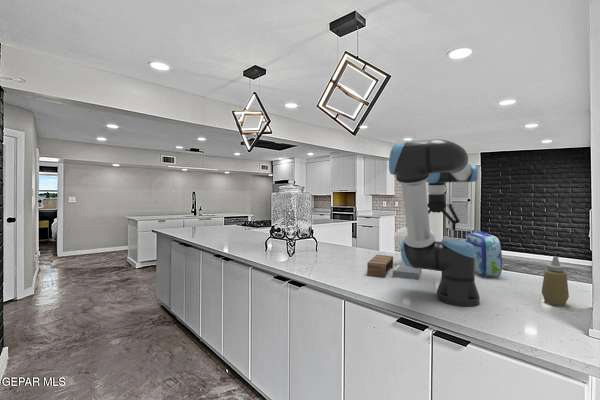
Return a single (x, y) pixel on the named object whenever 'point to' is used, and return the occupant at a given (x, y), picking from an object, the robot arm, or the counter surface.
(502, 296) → the counter surface
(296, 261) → the counter surface
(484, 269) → the lunch box
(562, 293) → the squeeze bottle
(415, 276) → the panel
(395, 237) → the heart
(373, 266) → the walnut tunnel
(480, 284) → the counter surface
